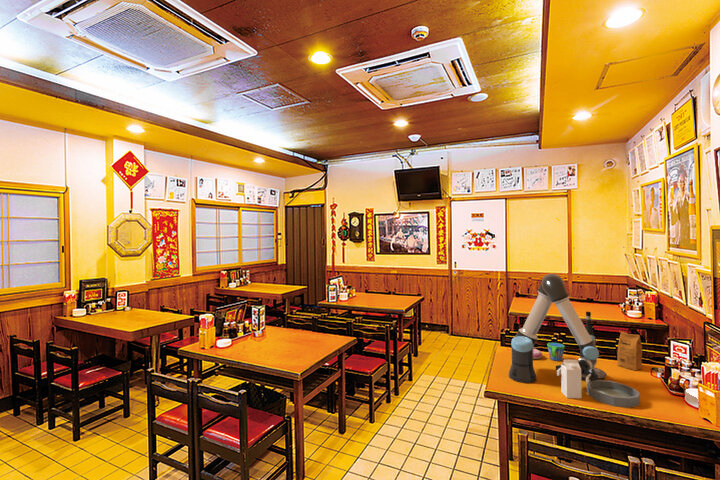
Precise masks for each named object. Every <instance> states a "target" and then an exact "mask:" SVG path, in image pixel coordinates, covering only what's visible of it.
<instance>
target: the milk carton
mask: <svg viewBox="0 0 720 480" xmlns="http://www.w3.org/2000/svg"><path fill="white" fill-rule="evenodd" d="M578 360H579V359H563V361H562V363H561V364H560V365H561V374H560V377H561V378H560V383H561V384H560V385H561V388H560V390H561V393H562V394H563V395H564V396H565V397H566V398H567V399H582V380H581V368H580V366H579V363H578Z"/></svg>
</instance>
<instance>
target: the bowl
mask: <svg viewBox="0 0 720 480" xmlns="http://www.w3.org/2000/svg"><path fill="white" fill-rule="evenodd" d="M586 393H587V395H588V396H589V397H590V398H591V399H593V400H595V401H597V402H599V403H601V404H605V405H609V406H613V407H619V408H634V407H639V405H640V403H641V393H640V392H639V391H638V390H637V389H636V388H634V387H632V386H630V385H627V384H625V383H620V382H616V381H613V380H604V379H602V380H594V381H589V382H588V383H586Z"/></svg>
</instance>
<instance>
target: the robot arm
mask: <svg viewBox="0 0 720 480" xmlns="http://www.w3.org/2000/svg"><path fill="white" fill-rule="evenodd" d="M537 293H538V295H537V297H536V300H535V302H534V304H533V306H532V308H531V309H530V312H529V314H528V316H527V318H526V320H525V322H524V324H523V327H521V328H519V329H518V331H517V332H516V334H515V335H514V337H513V338H512V339H511V342H510V343H511V344H510V345H511V365H510V368H509V371H508V378H509V379H510V380H513V381H515V382H519V383H525V384H529V383H531V384H532V383H535V382H537V377H538V376H537V374H536V371H535V368H534V359H533V349H534V347H535V345H536V343H537V341H538V336H537V335H538V333H539V330H540V328H541V326H542V324H543V322H544V320H545V318H546V316H547V314H548V312H549V310H550V308H551V306H552V304H555V307H556V308H557V309H558V312H559V314H560V315H561V317H562V318H563V320H564V323H565V324H566V326H567V327H568V329H569V331H570V333H571V335H572V336H573V338H574V340H575V342H576V343H577V345H578V347H579V358H578V359H577V360H578V363H579V366H580V368H581V374H582V375H586V376H587V377H586V380H585V383H586V384H587V383H588V382H589V381H590V380H594V379H595V380H598V375H597V373H596V372H595V370H594V369H592V368H593V367H595V366H596V365H597V363H598V362H597V359H599V356H600V352H599V351H600V350H599V349H598V347H597V346H596V336H595V337H594V336H592V335H589V334H588V332H587V330H586V328H585V327H586V326H585V324H584V323H583V321H582V320H581V318H580V316H579V314H578V312H577V311H576V309H575V308H574V306H573V304H572V302H571V300H570V299H569V298H570V294H568V291H567V289H566V285H565V281H564V280H563V278H562V277H561V276H560V275H558V274H555V273H548V274H546V275H544V276H543V277H542V280H541V283H540V285H539V287H538V289H537ZM591 369H592V370H591ZM555 371H556V376H558V377H559V376H561V364H557V365H555Z"/></svg>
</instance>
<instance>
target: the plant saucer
mask: <svg viewBox="0 0 720 480" xmlns="http://www.w3.org/2000/svg"><path fill="white" fill-rule="evenodd" d="M592 369H594V370H595V372H596V373H597V375H598V380H604V379H605V378H606V377H607V372H606V371H604V370H602V369H600V368H598V367H595V366H594V367H593V368H592ZM592 369H591V370H592ZM586 377H587V376H586V375H582V374H581V381H586ZM594 380H595V379H594ZM594 380H590V381H594Z"/></svg>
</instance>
